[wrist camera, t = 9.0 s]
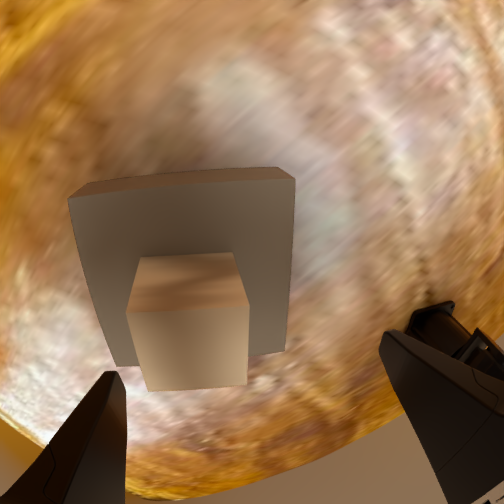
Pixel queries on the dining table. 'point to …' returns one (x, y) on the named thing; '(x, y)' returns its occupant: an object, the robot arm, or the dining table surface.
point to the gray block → (188, 241)
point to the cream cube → (190, 322)
